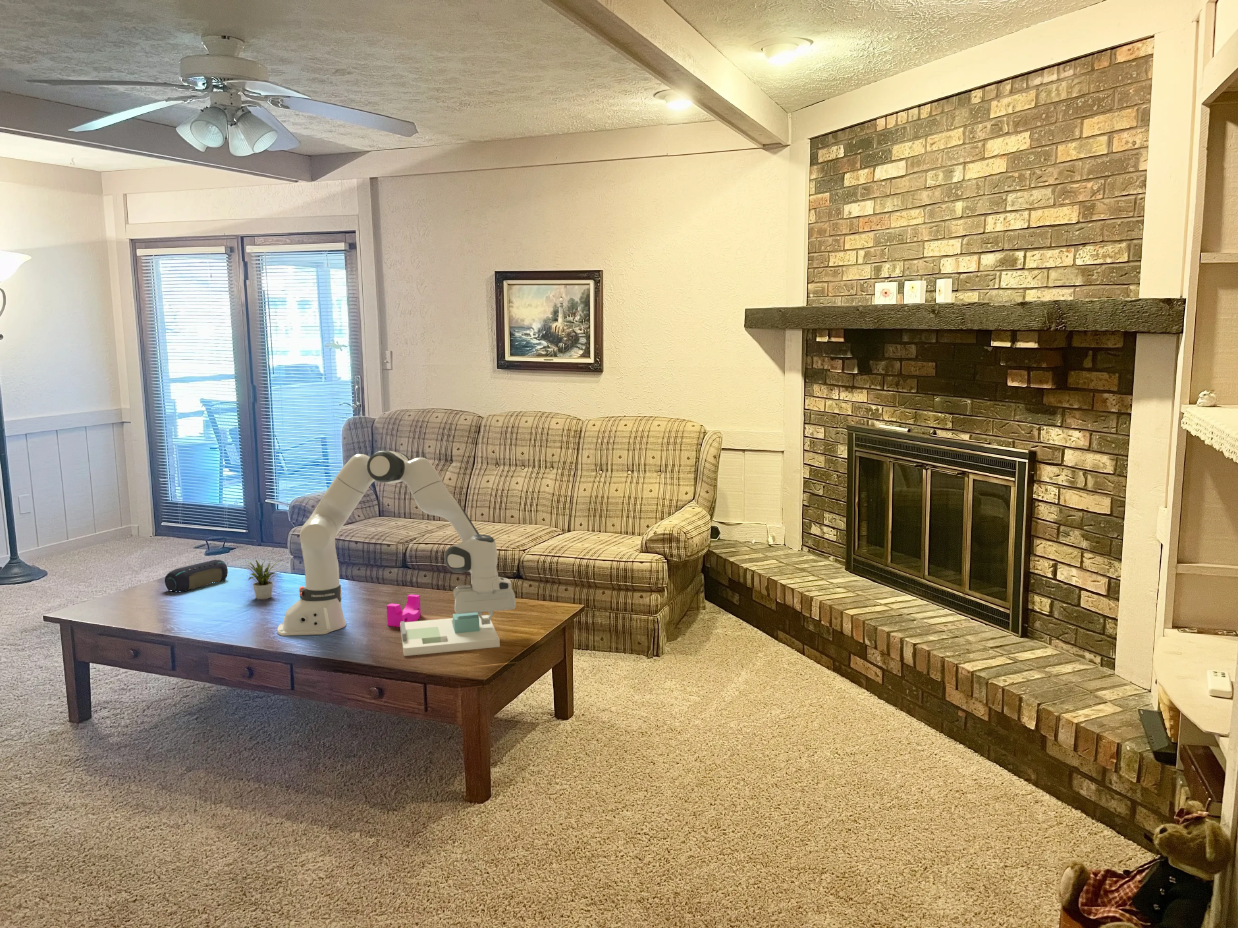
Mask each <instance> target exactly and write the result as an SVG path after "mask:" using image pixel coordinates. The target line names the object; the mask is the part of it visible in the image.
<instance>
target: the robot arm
mask: <svg viewBox="0 0 1238 928" xmlns="http://www.w3.org/2000/svg"><path fill="white" fill-rule="evenodd" d="M375 481H376V482H378V483H383V484H389V485H390V484H391V485H393V484H401V483H404V484H405V485H406V486H407V488H408V490H409V492H410V494H411V496H412V498H413V499H414V503H415V504H416V505H417V506H418V508H419V510H421V511H422V512H423V513H426V514H427V515H429V516H430V515H431V516H436V517H440V518H443V519H444V520H446V521H448V522H449V523H450V524H451V526H452V527H453V529H454V530H455V531H456V534H457V535H458V537H459V538H460V540H461V541H462V542H459V543H456V544H453V545H451V546H449V547H448V548H446V550H445V552H444V561H445V562H444V564H445V565H446V567H447V569H449V571H451V572H452V573H457V574H459V573H460V574H461V573H466V572H469V573H470V581H471V582H470V583H471V584H465V585H464V584H463V585H457V586H456V587H455V588H453V590H452V591H453V592H452V593H453V594H452V596H453V598H454V612H455V614H464V613H475V612H477V614H478V616H479V617H480V618H481V624H482V625H485V624H490V620H492V617H493V616H494V612H495V611H496V612H498V611H507V610H515V608H516V606H517V602H516V595H515V591H514V590H513V589H512V587H513V585H512V582H511V580H510V579H508V578H507V577H503V576H499V572H498V569H497V566H498V565H497V564H498V549H497V543H496V541H495V539H494V537H492V536H491V535H489V534H488V535H487V534H484V533H483V534H480V532H479V531H478V529H477V528H476V526H475V525H474V523H473V522H472V520H471V518H470V517H469V516H468V514H467V512H466V510H465V509H464V508H463V506H462V505H461V503H459V501H458V500H456V498H454V496H453V495H452V494H451V493H450V492H449V490H448V489H447V487H446V486H445V484H444V482H443V480H442V478H441V476H440V475H439V472H438V471H437V470H436V468H435V467H434V465H433V464H432V463H431V462H430V460H429V459H428V458H425V457H415V458H412V459H410V458H409V456H407V455H405V454H404V453H402V452H398V451H395V450H394V451H393V450H379V451H376V452H374V453H373V454H372V455H371V456H370V455H369V456H368V455H367V454H363V453H357V454H354V455H352V456H351V457H350V458H349V460H348V461H347V462H346V463H345V464H344V465H343V466H342V468H341V469H340V470H339V472H338V474H337V475H336V476H335V478H334V479H333V481H332V482H331V484H330V485H329V487H328V488H327V489H326V491H325V492H324V494H323V496H322V497H321V499H320V501H319V503H318V504H317V505H316V507H315V509H314V510H313V512H312V514H311V515H310V517H308V519H307V520H306V521H305V522H304V524H303V525H302V526H301V528H300V531H299V540H300V547H301V554H302V559H303V560H302V561H303V564H304V576H305V579H304V580H305V586H303V585H302V586H300V587H299V589H298V592H299V597H300V599H298V600H297V601H296V602H295V603H294V604H292V605H291V606H290V607H289V608H288V609H287V610H286V611H285V614H284V618H283V622H281V623H280V624H279V625H278V626H277V630H276V631H277V634H278V635H280V636H282V637H283V636H307V635H308V636H310V635H311V636H313V635H327V634H329V633H331V632H333V631H337V630H340V629H343V628H345V627H346V626H347V621H346V618H345V615H344V611H343V606H342V598H343V593H342V586H341V584H340V572H339V570H340V569H339V561H338V555H337V549H336V537H337V536H338V534H339V533H340V531H341V530H342V528H343V527H344V525H345V524H346V522H347V521H348V520H349V518H350V516H351V514H352V513H353V512H354V510H355V509H356V508H357V506H358V504H359V503H360V501H361V500H362V498H363V496H364V495H365V494H366V493H367V492H368V489H369V487H370V486H372V484H373V483H374V482H375ZM484 612H485V613H486V612H488V615H489V616H488V618H483V617H482V616H483V615H484V614H483V613H484Z"/></svg>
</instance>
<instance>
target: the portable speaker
mask: <svg viewBox="0 0 1238 928" xmlns="http://www.w3.org/2000/svg"><path fill="white" fill-rule="evenodd" d="M228 572H229V571H228V566H227V564H226V562H225V561H223V560H220V559H211V560H208V561H204V562H199V563H195V564H191V565H185V566H183V567H178V568H174V569H173V570H171V571H169V572H168V573H167V574H166V575H165V577H164V584H165V587H166V588H167V590H168V591H169V590H172V591H184V592H186V591H185V590H188V591H190V590H189V589H191V590H194V589H193V588H195V589H198V588H197V587H199V588H202V587H205V585H206V586H210V585H213V583H214V582H215V583H214V584H217V583H221V582H224V581H225V580H226V579H227V577H228V574H229V573H228ZM212 582H213V583H212ZM216 582H217V583H216ZM210 583H211V584H210ZM209 584H210V585H209ZM201 586H202V587H201Z"/></svg>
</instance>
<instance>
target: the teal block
mask: <svg viewBox="0 0 1238 928" xmlns="http://www.w3.org/2000/svg"><path fill="white" fill-rule="evenodd" d="M452 618H453V628H454V632H455V633H464V632H474V631H480V629H479V615H478V612H475V613H464V614H457V613H452Z"/></svg>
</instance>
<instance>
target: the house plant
mask: <svg viewBox="0 0 1238 928" xmlns="http://www.w3.org/2000/svg"><path fill="white" fill-rule="evenodd" d="M264 559H265V558H263V559H262V564H260V563H259V562H258V560H257V559H255V562H256V567H255V566H254V564H253V563H252V562H250V561H249V560H246V562H248V563H249V565H248V564H246V566H247V567H242V568H246V569H248V570H250V571H251V573H249V578H248V580H247V581H250V580H252V579H253V580H254V578H255V579H256V580H255V582H254V583H253V584H252V585H253V590H254V594H255V599H257V600H267V599H271V597H272V594H273V584H274V583H273V581H270V580H271V579H272V578H273V577H274V576H278V574H277V572H276V571H275V572H270V571H271V570H272V569H273V568H274V566H275V565H276V564H278V563H280V560H279V561H276V562H275V563H274V564H273V565H272V566H271V562H269V563H268V564H267V567H265V569H264V570H263V568H264V563H265V562H266V560H264ZM249 567H250V568H249ZM271 576H272V577H271Z"/></svg>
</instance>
